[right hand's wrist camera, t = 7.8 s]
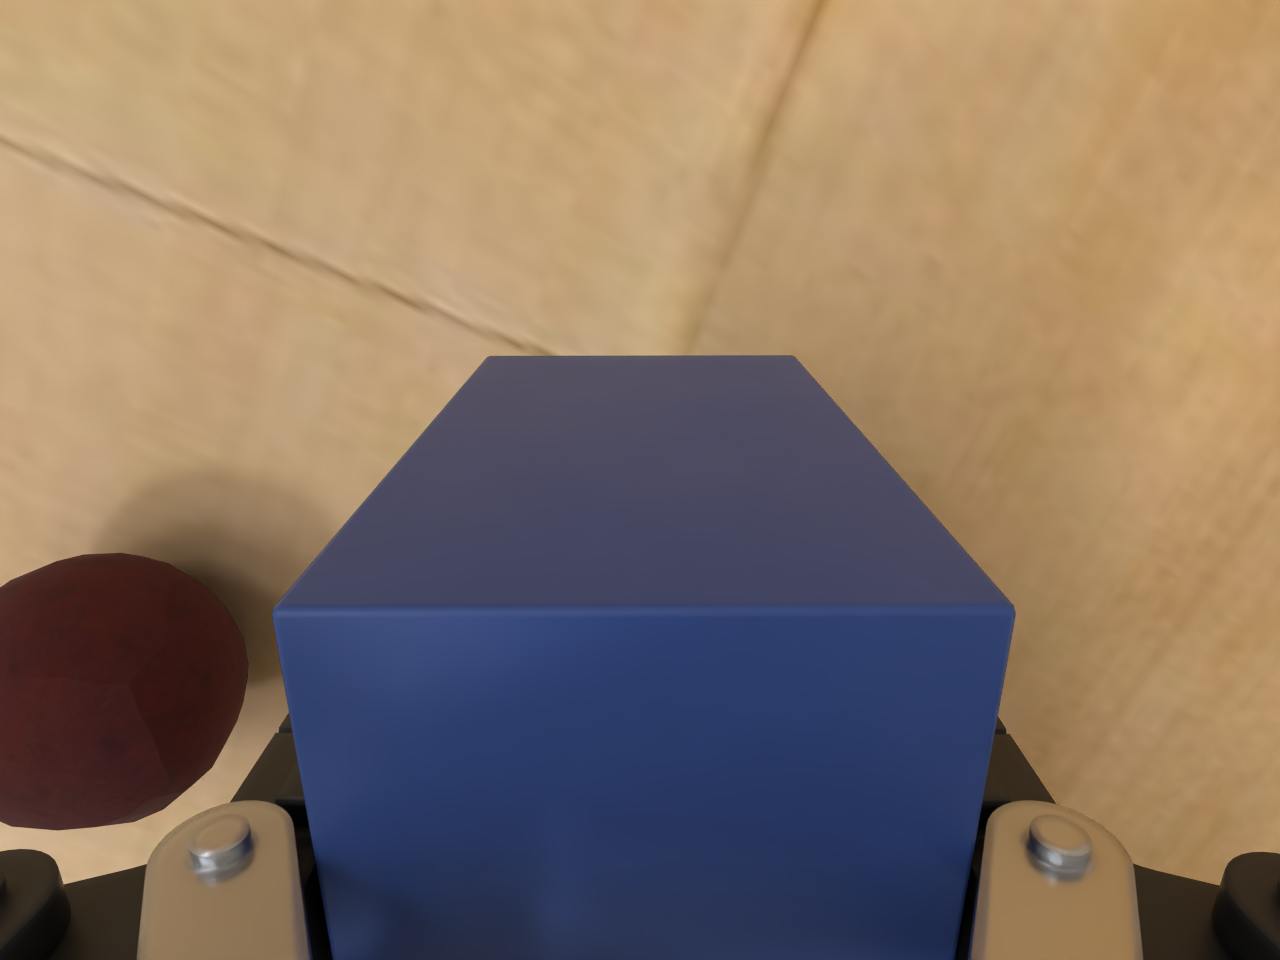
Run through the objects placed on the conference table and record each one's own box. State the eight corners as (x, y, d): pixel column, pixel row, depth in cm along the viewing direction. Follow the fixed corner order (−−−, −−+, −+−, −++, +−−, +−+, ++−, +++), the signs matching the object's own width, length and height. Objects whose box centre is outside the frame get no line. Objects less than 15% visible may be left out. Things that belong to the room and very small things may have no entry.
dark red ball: (309, 709, 27) (203, 878, 21) (85, 731, 28) (-90, 905, 21) (248, 505, 25) (104, 623, 18) (2, 533, 25) (-227, 658, 19)
